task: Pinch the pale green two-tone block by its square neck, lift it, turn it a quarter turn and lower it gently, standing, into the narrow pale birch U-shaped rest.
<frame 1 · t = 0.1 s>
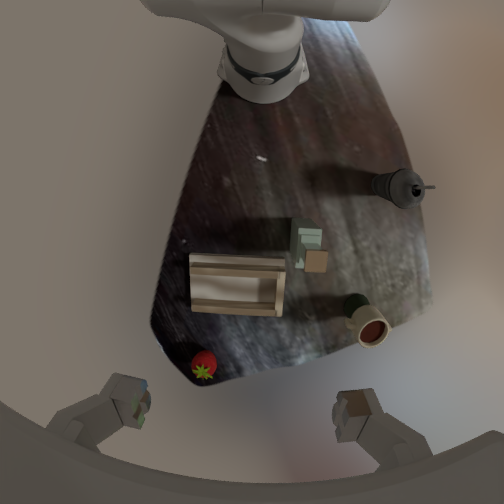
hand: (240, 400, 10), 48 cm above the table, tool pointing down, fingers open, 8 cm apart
beverage cup: (379, 185, 53), on the table
pale green two-tone block: (300, 234, 57), on the table
strawberry: (207, 351, 66), on the table
u rest: (236, 283, 60), on the table
character mug: (355, 304, 61), on the table
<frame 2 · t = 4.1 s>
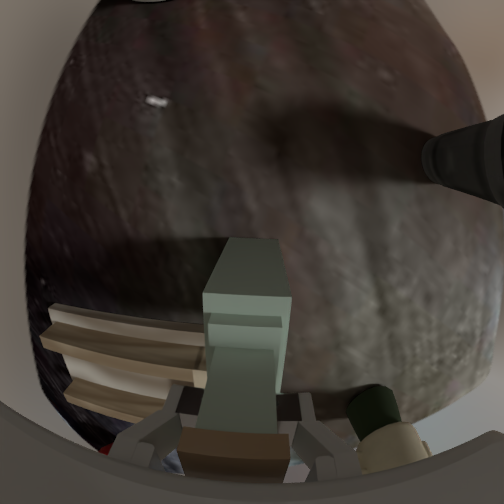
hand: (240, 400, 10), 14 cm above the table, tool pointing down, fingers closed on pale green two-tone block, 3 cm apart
beverage cup: (438, 160, 20), on the table
pale green two-tone block: (252, 278, 24), on the table, touching gripper
u rest: (133, 363, 27), on the table
character mug: (368, 399, 28), on the table
when the fingers open (17 cm above the table, at t = 12.6 s): pale green two-tone block drops 1 cm, resting on u rest.
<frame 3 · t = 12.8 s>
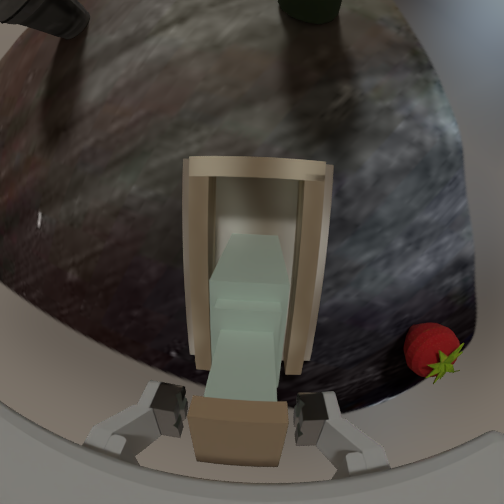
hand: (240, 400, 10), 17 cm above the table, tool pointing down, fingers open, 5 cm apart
beverage cup: (76, 25, 19), on the table
pale green two-tone block: (253, 272, 25), point 1 cm above the table, touching u rest
strawberry: (412, 326, 28), on the table
u rest: (253, 266, 27), on the table
character mug: (307, 6, 19), on the table
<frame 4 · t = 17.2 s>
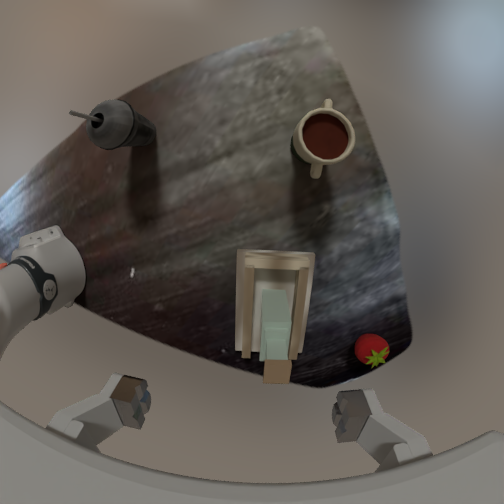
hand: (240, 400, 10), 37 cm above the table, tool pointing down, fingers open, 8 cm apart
beverage cup: (144, 133, 42), on the table
pale green two-tone block: (272, 307, 48), point 1 cm above the table, touching u rest
strawberry: (363, 334, 51), on the table
u rest: (272, 303, 50), on the table
character mug: (309, 145, 42), on the table
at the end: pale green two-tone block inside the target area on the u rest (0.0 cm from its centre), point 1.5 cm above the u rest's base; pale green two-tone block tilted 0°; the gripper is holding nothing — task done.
